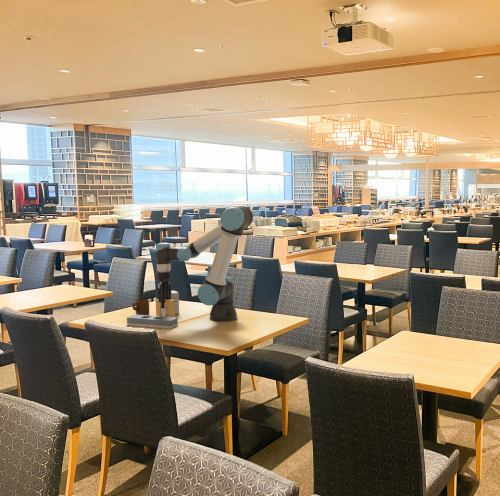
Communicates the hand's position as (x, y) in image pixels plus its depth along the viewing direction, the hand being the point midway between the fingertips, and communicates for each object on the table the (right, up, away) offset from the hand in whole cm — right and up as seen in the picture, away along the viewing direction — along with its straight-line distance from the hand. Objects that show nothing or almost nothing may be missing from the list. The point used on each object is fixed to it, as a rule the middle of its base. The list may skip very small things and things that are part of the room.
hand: (165, 313), depth 314 cm
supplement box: (+1, -2, +16) cm, 16 cm away
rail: (-5, -5, -13) cm, 14 cm away
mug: (-16, -3, +8) cm, 18 cm away
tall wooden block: (0, -3, 0) cm, 3 cm away
